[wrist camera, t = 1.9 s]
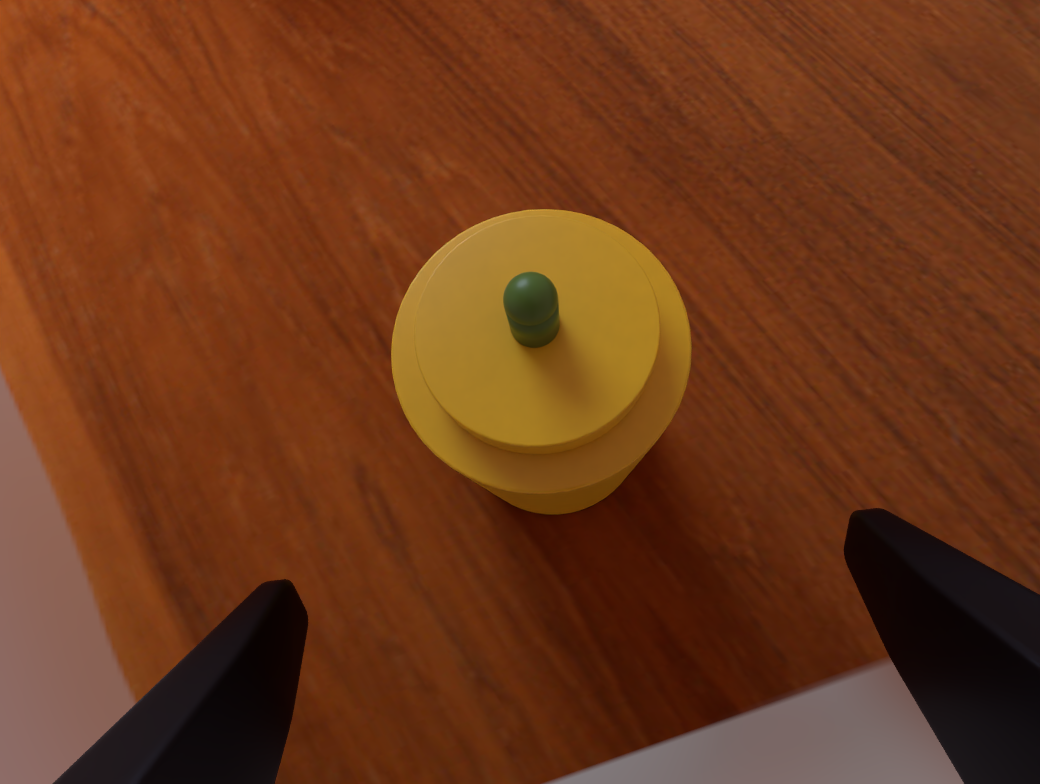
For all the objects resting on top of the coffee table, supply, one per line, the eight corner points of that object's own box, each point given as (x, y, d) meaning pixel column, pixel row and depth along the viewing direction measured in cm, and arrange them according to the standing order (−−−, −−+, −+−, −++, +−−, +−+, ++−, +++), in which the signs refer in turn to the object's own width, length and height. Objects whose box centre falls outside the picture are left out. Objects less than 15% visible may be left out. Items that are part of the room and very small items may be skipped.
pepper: (670, 478, 20) (795, 399, 9) (495, 540, 20) (398, 538, 9) (603, 317, 22) (636, 79, 11) (443, 373, 22) (306, 195, 11)
